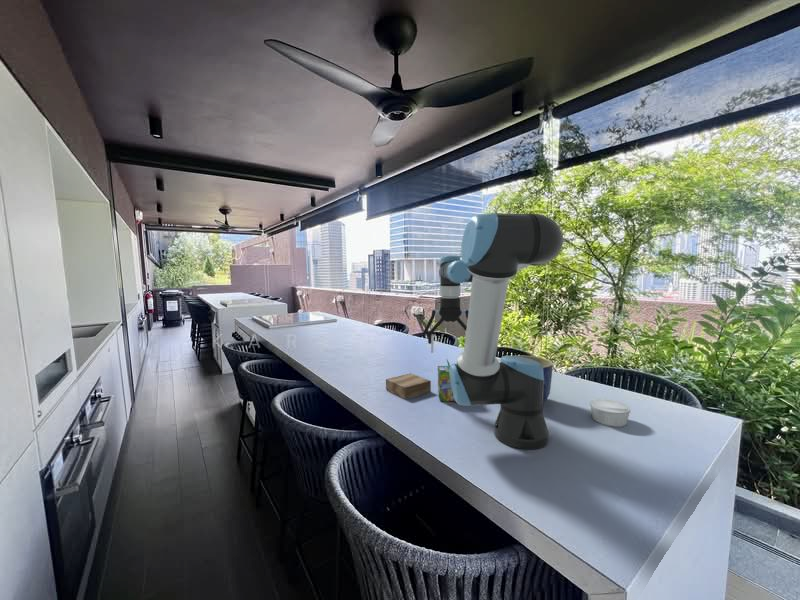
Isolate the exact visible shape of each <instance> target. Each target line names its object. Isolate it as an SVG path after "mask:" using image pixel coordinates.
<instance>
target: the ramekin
mask: <svg viewBox="0 0 800 600" xmlns="http://www.w3.org/2000/svg"><path fill="white" fill-rule="evenodd" d="M589 406H590V410H591V411H590V412H591V417H592V419H593V420H594V421H595V422H597V423H598V424H601V425H603V426H607V427H613V428H614V427H615V428H620V427H624V426H626V425H627V424H628V420H629V416H630V413H631V407H630V406H628V405H627V404H625V403H623V402H621V401H618V400H614V399H607V398H594V399H592V400H591V401H590V402H589Z"/></svg>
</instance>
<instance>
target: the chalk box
mask: <svg viewBox="0 0 800 600" xmlns="http://www.w3.org/2000/svg"><path fill="white" fill-rule="evenodd" d="M446 361H447V365H438V366H437V395H438V399H439V401H440V402H441V403H442V402H444V403H445V402H456V401H455V399H454V396H453V392H452V388H451V382H450V374H449V367H450V365H451V364H450V362H449V359H446Z"/></svg>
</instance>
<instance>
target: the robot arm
mask: <svg viewBox="0 0 800 600" xmlns="http://www.w3.org/2000/svg"><path fill="white" fill-rule="evenodd" d="M563 244H564V235H563V232H562V229H561V228H560V225H558V223H557V222H556V221H555V220H554V219H553V218H550V217H549V216H547V215H544V214H540V213H502V212H500V213H498V212H497V213H496V212H495V213H494V212H490V213H484V214H483V213H482V214H481V213H479V214H475V215H474V216H472V217H471V218H470V219H469V221H468V222H467V224H466V225H465V229H464V232H463V235H462V239H461V246H460V247H461V251H460V255H461V257H460V255H442V256H441V257H440V261H439V274H440V275H439V280H440V281H439V283H440V284H439V288H440V289H439V296H440V298H439V310H438V309H434V308H433V309H432V310H431V316H430V318H429V319H428V321H427V324H426V326H425V328H424V329H423V334H424V335H427V338H428V339H427V343H428V344H429V345H430V346H431V347H430V353H431V354H434V334H433V333H434V332H435V331H436V330H437V329H438V328H439V326H441V324H443V322H446V323H449V322H453V323H455V322H457V323H458V324H459V325H460V326H461V327H462V328H463V330H464V331H465V339H464V345H463V347H464V348H463V352H462V353H461V352H460V354H459V355H458V356H457V359H456V363H452V364H449V365H450V367H449V374H450V382H451V388H452V392H453V396H454V399H455V401H454V402H456V404H458V405H459V406H467V407H469V406H470V407H473V406H487V405H489V406H490V405H500V409H499V412H498V414H497V418H496V420H495V423H494V426H493V427H494V428H493V433H494V436H495V438H496V439H497V440H498V441H500V442H501V443H502V444H505V445H507V446H510V447H513V448H516V449H517V448H518V449H523V450H537V449H540V448H541V449H542V448H544V447H546V446H547V445H548V444H549V441H550V433H549V429H548V426H547V422H546V420H545V416H544V409H543V408H544V402H543V385H544V373H543V367H542V365H541V364H540V363H538V362H537V361H534V360H531V359H528V358H524V357H518V356H519V355H503V356H501V357H500V361H499V360H498V358H497V351H498V346H499V345H498V344H499V339H500V332H501V327H502V320H503V314H504V309H505V304H506V298H507V290H508V286H509V280H511V279H513V278H514V277H516V275H517V273H518V272H519V271H521V270H524V269H526V268H529V267H531V266H533V267H538V266H543V265H545V264H547V263H549V262H551V261H553V260H554V259H556V257H558V255H559V254H560V252H561V250H562V248H563ZM463 283H471V288H470V297H469V306H468V309H463V310H462V309H461V298H460V296H461V284H463ZM438 314H439V316H440V318H439V320H437V322H436V323H435V324H434V325H433V326H432V327H431V325H432V323H433V321H434V319H435V317H436V316H438ZM461 315H463V316H465V318H466V320H467V321H466V324H465V322H463V321H462V319H461V318H460V317H461ZM430 327H431V329H430ZM429 329H430V330H429Z"/></svg>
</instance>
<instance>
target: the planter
mask: <svg viewBox="0 0 800 600" xmlns="http://www.w3.org/2000/svg"><path fill="white" fill-rule="evenodd" d="M517 356H518V357H524V358H528V359H531V360H534V361H537V362H538V363H540V364H541V365H542V367H543V373H544V385H543V403H544V402H546V401H547V400H548V398H549V396H550V394H551V388H552V377H553V368H554V363H553V361H552V360H550V359H547V358H546V357H545V358H544V357H541V356H536V355H535V356H532V355H517Z"/></svg>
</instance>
